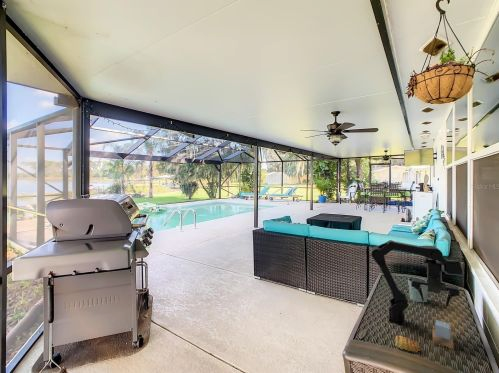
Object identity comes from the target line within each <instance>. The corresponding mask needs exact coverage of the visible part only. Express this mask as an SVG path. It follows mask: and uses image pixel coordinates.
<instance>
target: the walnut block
mask: <svg viewBox="0 0 499 373" xmlns="http://www.w3.org/2000/svg"><path fill="white" fill-rule="evenodd" d="M431 330H432V335H431V336H432V343H436V344H435V345H437V344H440V345H443V346H442V347H444V346H446V347H445V348H447V347H448V349H452V350H454V339H453V335H452V333H451V332H450V340H448V339H444V338H441V337H438V336H435V328H432V329H431ZM440 345H439V346H440Z"/></svg>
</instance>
